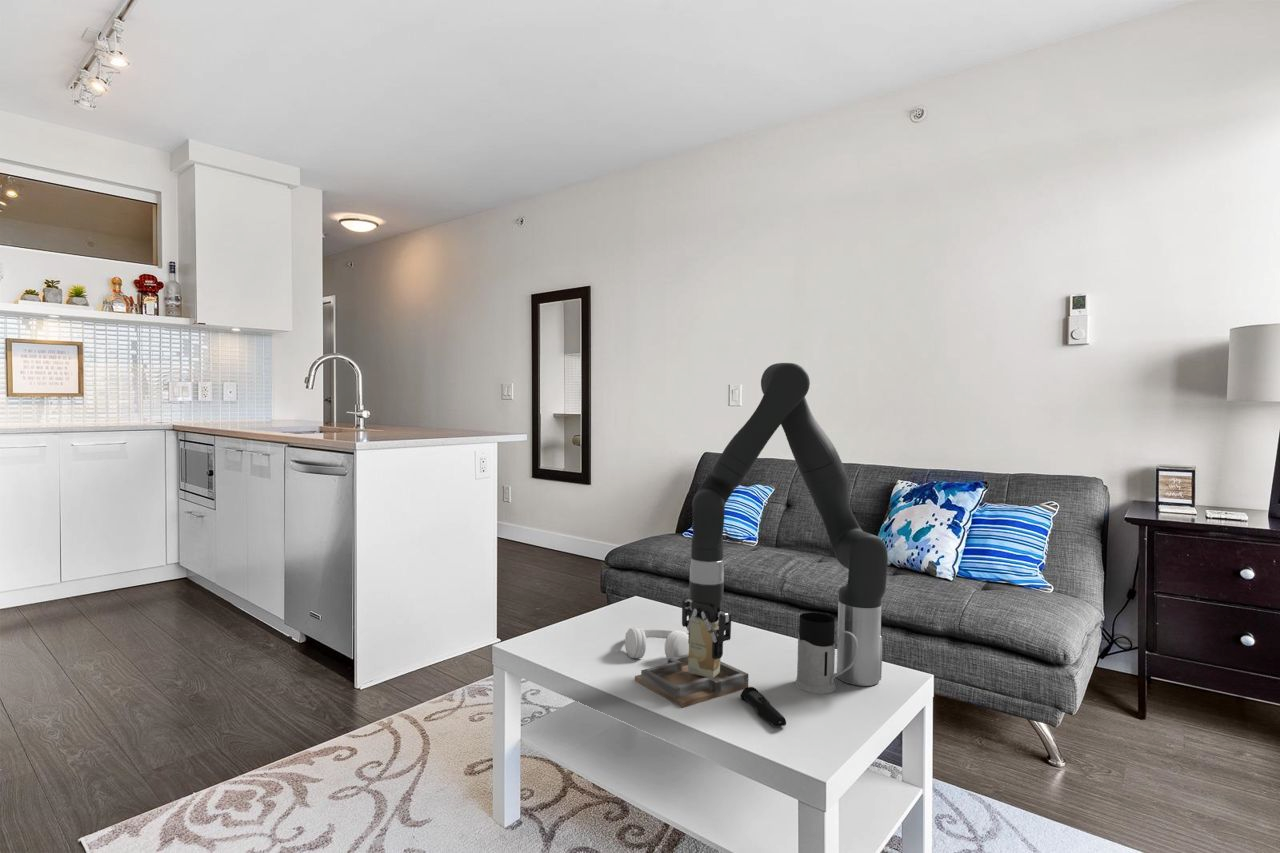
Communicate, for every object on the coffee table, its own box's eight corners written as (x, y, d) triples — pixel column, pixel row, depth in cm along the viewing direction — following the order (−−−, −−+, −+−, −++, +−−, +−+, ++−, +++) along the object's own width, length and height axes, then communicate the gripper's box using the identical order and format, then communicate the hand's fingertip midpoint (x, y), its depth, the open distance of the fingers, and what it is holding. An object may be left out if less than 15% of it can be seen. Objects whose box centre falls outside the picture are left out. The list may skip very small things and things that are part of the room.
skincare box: (687, 673, 148) (688, 618, 147) (694, 667, 151) (696, 613, 151) (714, 679, 145) (715, 622, 144) (721, 672, 148) (722, 617, 148)
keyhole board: (698, 663, 158) (698, 651, 158) (748, 687, 145) (748, 673, 145) (635, 680, 147) (635, 666, 147) (682, 707, 134) (682, 692, 134)
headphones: (693, 634, 156) (700, 622, 176) (617, 628, 159) (632, 617, 179) (692, 666, 155) (699, 651, 175) (615, 659, 158) (631, 645, 178)
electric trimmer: (772, 734, 124) (772, 717, 124) (738, 699, 139) (739, 684, 139) (790, 732, 125) (791, 715, 125) (755, 697, 140) (755, 682, 140)
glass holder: (809, 674, 153) (811, 609, 153) (866, 694, 142) (868, 624, 142) (786, 684, 147) (788, 616, 147) (844, 705, 137) (846, 632, 136)
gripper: (741, 583, 144) (740, 659, 144) (698, 570, 156) (696, 640, 156) (715, 588, 140) (714, 666, 140) (673, 574, 151) (671, 646, 152)
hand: (704, 652), depth 148 cm, fingers closed on skincare box, 7 cm apart
